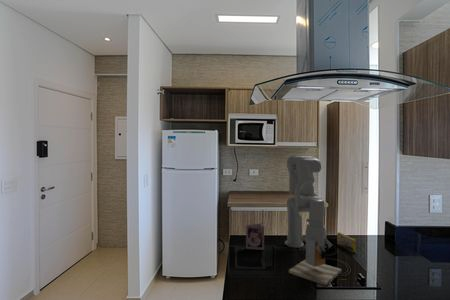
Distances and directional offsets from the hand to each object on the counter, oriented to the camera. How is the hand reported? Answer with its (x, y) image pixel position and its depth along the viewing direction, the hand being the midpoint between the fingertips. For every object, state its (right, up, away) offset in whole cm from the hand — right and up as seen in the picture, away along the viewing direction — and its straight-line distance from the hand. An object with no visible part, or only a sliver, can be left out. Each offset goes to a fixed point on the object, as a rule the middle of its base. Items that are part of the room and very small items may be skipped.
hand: (315, 256), depth 150 cm
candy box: (+31, -9, +36) cm, 49 cm away
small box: (0, -4, 0) cm, 4 cm away
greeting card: (-28, -8, +35) cm, 46 cm away
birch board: (0, -9, 0) cm, 9 cm away
